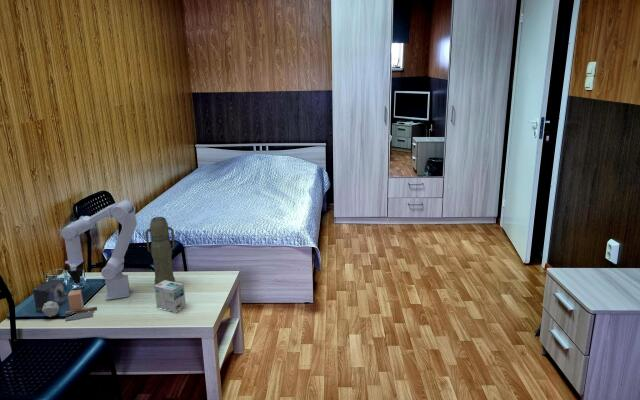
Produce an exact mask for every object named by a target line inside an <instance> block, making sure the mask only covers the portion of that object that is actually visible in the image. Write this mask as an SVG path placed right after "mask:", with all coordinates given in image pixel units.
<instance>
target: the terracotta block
mask: <svg viewBox="0 0 640 400" xmlns="http://www.w3.org/2000/svg"><path fill="white" fill-rule="evenodd" d="M67 299H68V304H69V311H71V310H78V309H84V307H83V306H84V299H83V294H82V289H76V290H70V291H69V292H68V294H67Z"/></svg>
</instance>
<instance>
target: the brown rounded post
mask: <svg viewBox="0 0 640 400" xmlns="http://www.w3.org/2000/svg"><path fill="white" fill-rule="evenodd" d="M169 230H170V231H169ZM169 232H171V233H169ZM148 233H150V239H151V243H150V244H149V234H148ZM169 234H171V240H170V236H169ZM145 239H146V247H147V252H149V253H150V254H151V258H152V260H153V261H152V262H153V268H154V269H153V270H154V286H155V285H156V284H158V283H160V282H162V281H164V280H167V281H171V282H176V279H175V278H176V277H175V275H174V270H173V259H172V256H173V250H174V249H175V248H176V245H175V244H176V243H175V231H174V229H173V228H172V226H169V225H168V221H167V219H166V217H164V216H155V217H153V218H151V219H150V223H149V228H147V229H146V231H145Z"/></svg>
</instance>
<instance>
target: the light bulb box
mask: <svg viewBox="0 0 640 400" xmlns="http://www.w3.org/2000/svg"><path fill="white" fill-rule="evenodd" d="M154 294H155V295H154V296H155V302H156V309H158V308H162V309H166V310H169V311H168V312H170V311H174V312H176V311H178V310H179V309H181V308H182V307H184V306H185V305H186V306H187V304H186V294H185V284H184V283H180V282H176V281H175V282H171V281H167V280H164V281H162V282H160V283H158V284H156V285H155V284H154ZM186 306H185V307H186ZM185 307H184V308H185ZM162 309H161V310H162ZM182 309H183V308H182ZM182 309H181V310H182ZM166 310H165V311H166ZM179 311H180V310H179ZM179 311H178V312H179ZM174 312H173V313H174ZM176 313H177V312H176Z"/></svg>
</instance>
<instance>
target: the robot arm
mask: <svg viewBox="0 0 640 400" xmlns="http://www.w3.org/2000/svg"><path fill="white" fill-rule="evenodd" d="M105 218H110V219H112V218H114V220H115V221H117V222H118V223H119V224H120V225H121V226H122V228H121V230H120V232H119V235H118V238H117V240H116V243H115V246H114V249H113V250H112V254H111V256H110V258H109V259H108V261H107V262H106V264H105V266H104V267H103V268H102V269H101V273H100V274H101V276H102V277H103V278H104V281H105V287H106V288H105V289H106V297H105V300H107V301H108V300H115V299H122V298H127V297H130V292H131V287H130V281H129V275H128V274H123V270H124V267H125V265H124V263H125V256H126V253H127V251H128V247H129V245H130V243H131V240H132V238H133V234H134V233H135V229H136V228H137V224H138V222H137V215H136V207H135V205H134V204H133V202H132V201H130V200H129V199H122V200H121V201H118V202H115V203H112V204H110V205H108V206H107V207H105V208H103V209H101V210H99V211H98V212H96V213H95V214H93V215H91V216H89V215H85V216H84V215H81V216H80V217H79V218H78V220H77V219H76V221H71V222H70V223H69V224H68V225H66V226H65V227H63V228H62V229H61V231H60V236H61V237H62V238H63V239H64V243H65V250H66V255H67V256H66V257H67V260H65V262H64V264H65V265H68V266H69V268H67V270H66V272H67V273H68V274H69V276H70V277H71V280H72V282H73V283H74V284H75V285H76V284H78V285H79V284H80V283H81V278H82V277H83V276H84V275H83V273H84V264H85V262H86V260H85V259H83V252H82V251H83V250H82V246H81V238H80V235H81V234H83V233H85V232H87V231H88V230H90V229H93V228H94V226H95V223H97V222H99V221H101V220H103V219H105Z"/></svg>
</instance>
